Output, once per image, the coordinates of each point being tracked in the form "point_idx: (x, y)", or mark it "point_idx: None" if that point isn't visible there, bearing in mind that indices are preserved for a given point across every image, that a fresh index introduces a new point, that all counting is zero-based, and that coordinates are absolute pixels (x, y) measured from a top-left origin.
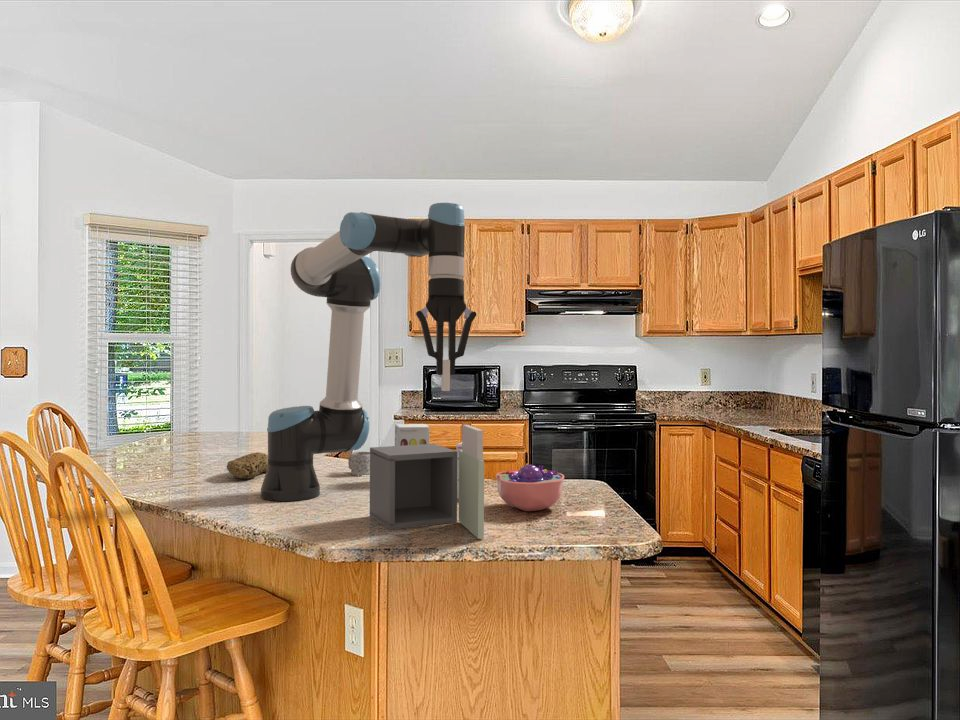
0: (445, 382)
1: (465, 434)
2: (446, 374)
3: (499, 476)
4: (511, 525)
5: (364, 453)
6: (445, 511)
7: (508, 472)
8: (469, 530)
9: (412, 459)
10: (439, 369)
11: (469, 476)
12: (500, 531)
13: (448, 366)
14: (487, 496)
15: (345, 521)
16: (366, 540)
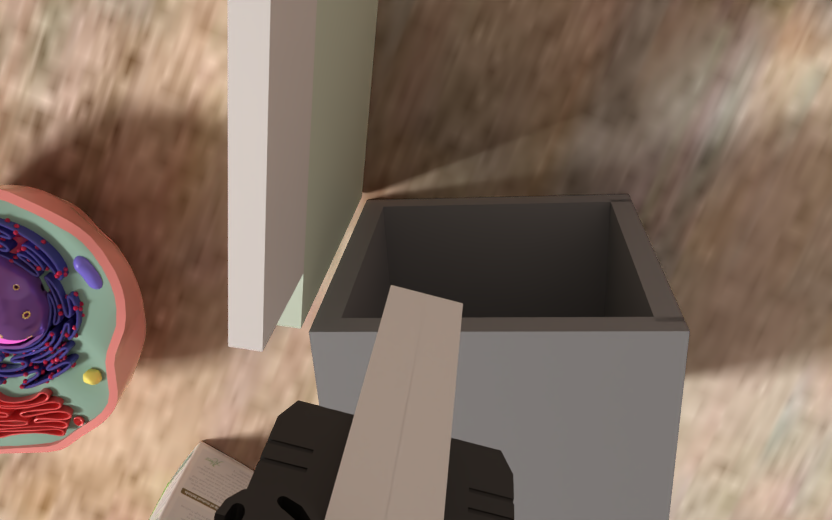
0: (429, 341)
1: (279, 256)
2: (406, 398)
3: (115, 364)
4: (195, 82)
5: None
6: (386, 266)
7: (61, 405)
8: (373, 49)
9: (558, 317)
10: (479, 496)
11: (333, 102)
12: None
13: (365, 461)
14: (153, 470)
15: (718, 354)
16: (762, 91)
